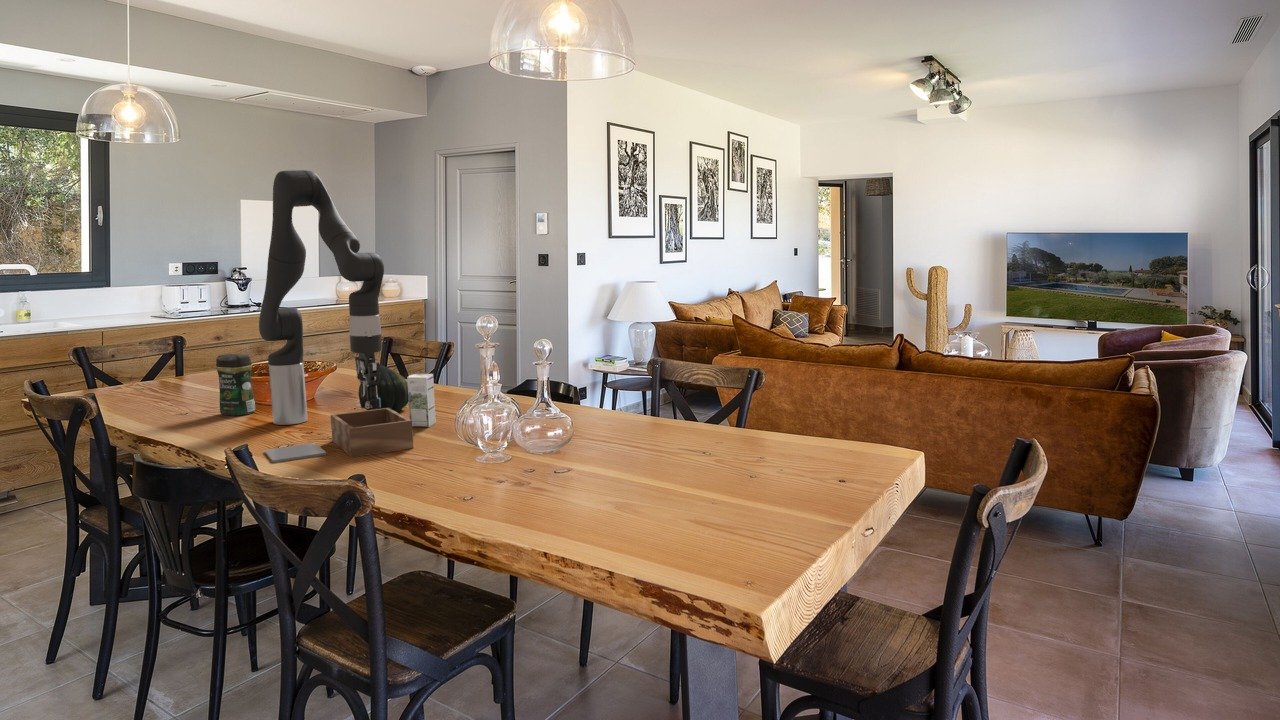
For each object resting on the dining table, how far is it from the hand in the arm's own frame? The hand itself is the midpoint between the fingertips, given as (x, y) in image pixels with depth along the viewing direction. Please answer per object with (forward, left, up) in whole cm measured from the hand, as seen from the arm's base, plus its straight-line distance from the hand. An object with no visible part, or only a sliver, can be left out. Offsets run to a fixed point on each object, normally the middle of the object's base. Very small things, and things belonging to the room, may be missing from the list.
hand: (369, 398), depth 201 cm
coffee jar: (-65, -23, -12) cm, 70 cm away
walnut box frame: (0, 0, -12) cm, 12 cm away
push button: (-1, 0, -3) cm, 3 cm away
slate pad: (-2, -18, -12) cm, 22 cm away
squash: (-41, +15, -12) cm, 45 cm away
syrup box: (-14, +18, -12) cm, 26 cm away
